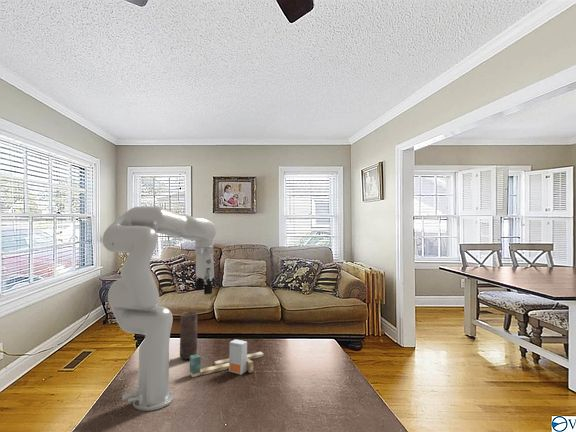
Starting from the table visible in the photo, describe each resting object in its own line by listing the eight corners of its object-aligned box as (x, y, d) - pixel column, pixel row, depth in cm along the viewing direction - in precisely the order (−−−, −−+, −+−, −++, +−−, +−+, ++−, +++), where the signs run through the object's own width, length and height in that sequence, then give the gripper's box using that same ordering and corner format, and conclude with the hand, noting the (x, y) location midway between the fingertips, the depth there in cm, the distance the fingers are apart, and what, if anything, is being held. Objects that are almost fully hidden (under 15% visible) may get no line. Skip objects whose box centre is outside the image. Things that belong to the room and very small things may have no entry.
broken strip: (217, 366, 152) (217, 363, 152) (214, 364, 154) (214, 361, 154) (263, 356, 164) (263, 353, 164) (260, 354, 166) (260, 351, 166)
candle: (194, 361, 157) (194, 314, 157) (177, 361, 157) (177, 314, 158) (199, 355, 165) (199, 310, 165) (182, 354, 165) (183, 310, 165)
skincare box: (228, 372, 147) (228, 341, 147) (235, 368, 150) (235, 338, 151) (241, 375, 144) (241, 344, 144) (247, 371, 148) (247, 341, 148)
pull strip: (199, 384, 134) (199, 365, 134) (189, 374, 144) (189, 355, 144) (253, 371, 146) (253, 353, 146) (240, 362, 156) (241, 345, 156)
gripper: (220, 252, 150) (220, 294, 149) (205, 249, 164) (205, 287, 164) (202, 253, 146) (202, 296, 145) (189, 250, 160) (188, 289, 160)
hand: (203, 291), depth 155 cm, fingers open, 9 cm apart
